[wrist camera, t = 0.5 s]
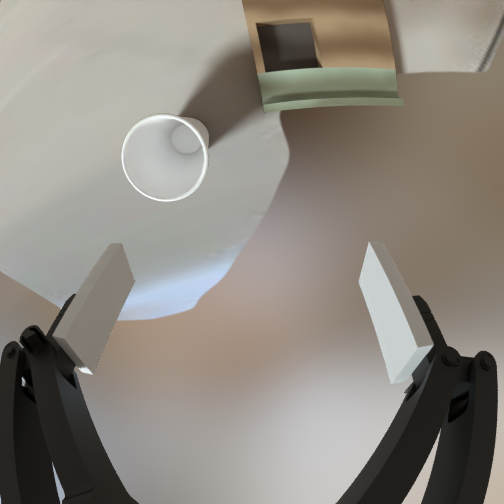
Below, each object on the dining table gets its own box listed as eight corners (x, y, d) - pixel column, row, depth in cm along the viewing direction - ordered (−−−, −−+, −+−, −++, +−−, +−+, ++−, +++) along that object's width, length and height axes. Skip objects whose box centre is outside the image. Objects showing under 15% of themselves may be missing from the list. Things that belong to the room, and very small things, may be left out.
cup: (204, 92, 31) (182, 96, 22) (234, 154, 36) (224, 181, 27) (144, 124, 34) (106, 142, 25) (174, 180, 39) (148, 214, 30)
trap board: (227, -59, 16) (223, -73, 13) (352, -62, 14) (361, -73, 10) (264, 109, 33) (264, 112, 29) (389, 102, 30) (403, 106, 27)
